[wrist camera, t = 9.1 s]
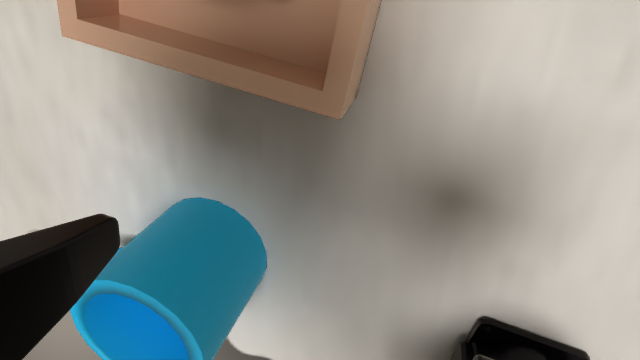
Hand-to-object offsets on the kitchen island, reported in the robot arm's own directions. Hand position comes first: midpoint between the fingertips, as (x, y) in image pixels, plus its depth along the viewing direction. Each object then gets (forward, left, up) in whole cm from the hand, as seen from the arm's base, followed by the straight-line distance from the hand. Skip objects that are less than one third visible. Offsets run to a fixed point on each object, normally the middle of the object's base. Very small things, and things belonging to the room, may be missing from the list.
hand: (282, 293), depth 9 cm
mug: (+10, +13, -13) cm, 21 cm away
